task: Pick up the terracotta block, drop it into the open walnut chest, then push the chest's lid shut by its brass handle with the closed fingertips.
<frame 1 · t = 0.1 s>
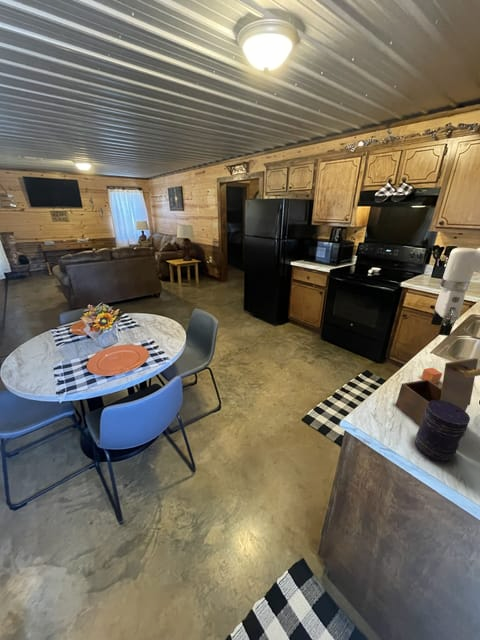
hand: (439, 329, 97), 27 cm above the counter, tool pointing down, fingers open, 9 cm apart
lid: (464, 387, 79), point 18 cm above the counter, hinge at 80.0°
chest: (425, 416, 93), on the counter
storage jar: (432, 450, 80), on the counter
block: (430, 380, 113), on the counter
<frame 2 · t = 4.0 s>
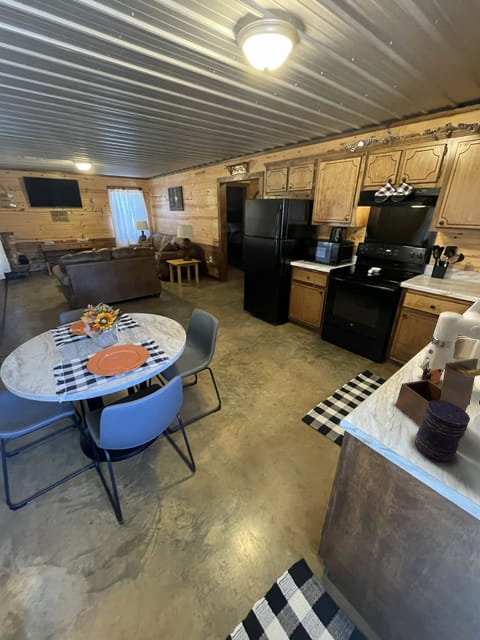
hand: (430, 379, 113), 0 cm above the counter, tool pointing down, fingers closed on block, 4 cm apart
block: (430, 380, 113), on the counter, touching gripper
everything else where it was.
when the fingers open (10 cm above the counter, at t = 11.0 s): block drops 9 cm, resting on chest.
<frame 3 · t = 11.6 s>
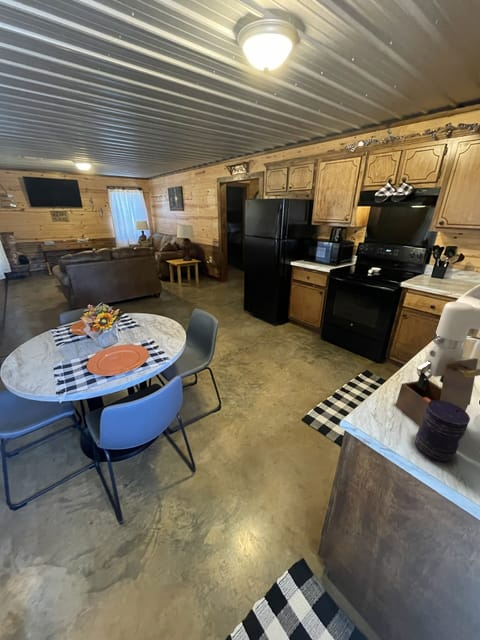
hand: (433, 385, 89), 12 cm above the counter, tool pointing down, fingers open, 9 cm apart
block: (423, 412, 93), point 1 cm above the counter, touching chest
everything else where it was.
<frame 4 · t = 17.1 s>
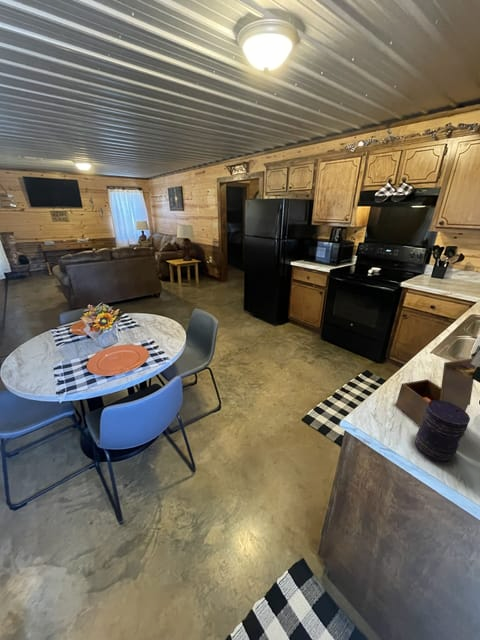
hand: (479, 381, 75), 23 cm above the counter, tool pointing down, fingers closed
lid: (464, 387, 79), point 18 cm above the counter, hinge at 78.6°, touching gripper
everything else where it was.
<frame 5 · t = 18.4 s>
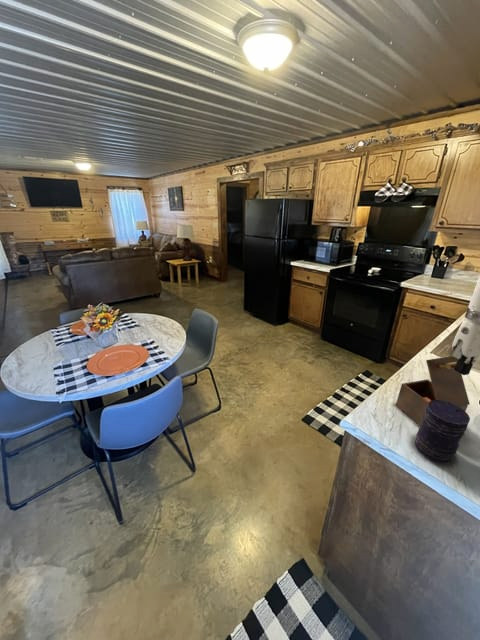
hand: (461, 372, 79), 22 cm above the counter, tool pointing down, fingers closed
lid: (454, 382, 82), point 18 cm above the counter, hinge at 56.4°, touching gripper
everything else where it was.
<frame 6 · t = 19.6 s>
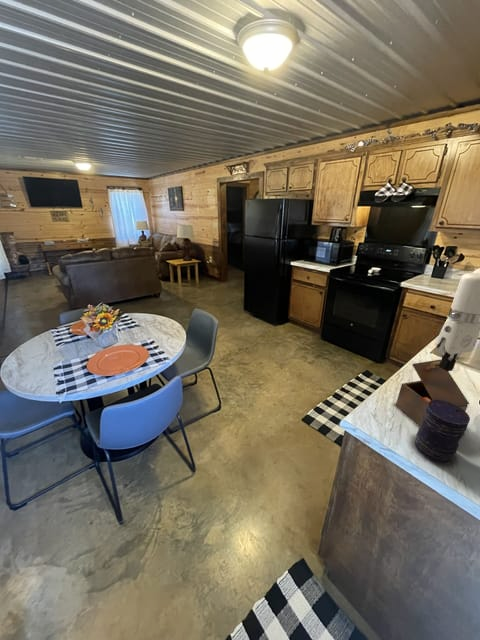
hand: (445, 368, 84), 21 cm above the counter, tool pointing down, fingers closed
lid: (444, 381, 85), point 16 cm above the counter, hinge at 34.7°
everything else where it was.
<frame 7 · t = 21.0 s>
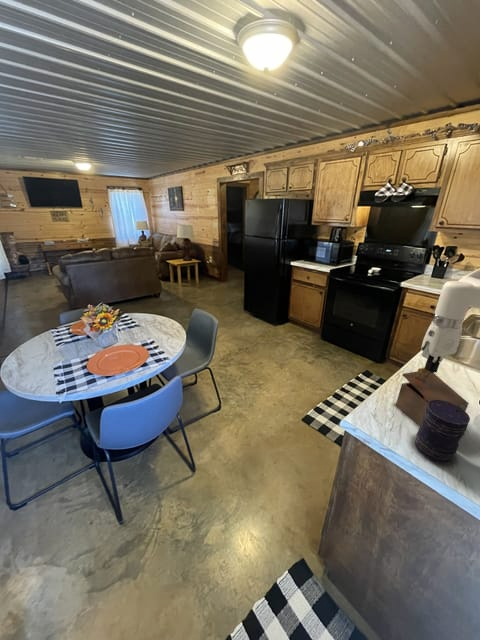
hand: (430, 370, 89), 17 cm above the counter, tool pointing down, fingers closed
lid: (436, 384, 87), point 14 cm above the counter, hinge at 11.2°, touching gripper
everything else where it was.
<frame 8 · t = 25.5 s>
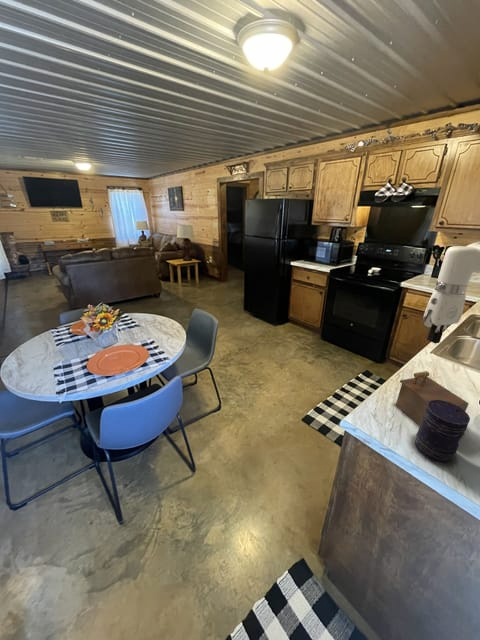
hand: (432, 341, 87), 27 cm above the counter, tool pointing down, fingers closed
lid: (433, 387, 89), point 12 cm above the counter, hinge at -0.2°, touching chest
everything else where it was.
at the end: block inside the target area in the chest (1.1 cm from its centre), point 0.8 cm above the chest's base; lid at +0° (first picture: +80°) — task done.
